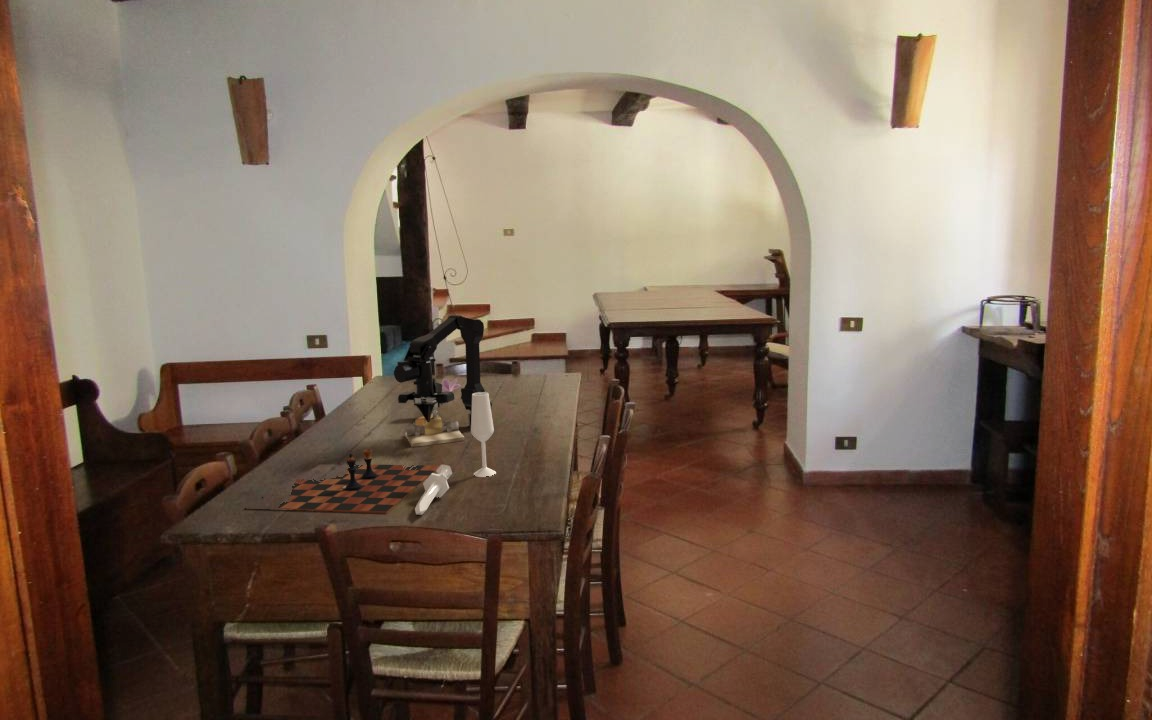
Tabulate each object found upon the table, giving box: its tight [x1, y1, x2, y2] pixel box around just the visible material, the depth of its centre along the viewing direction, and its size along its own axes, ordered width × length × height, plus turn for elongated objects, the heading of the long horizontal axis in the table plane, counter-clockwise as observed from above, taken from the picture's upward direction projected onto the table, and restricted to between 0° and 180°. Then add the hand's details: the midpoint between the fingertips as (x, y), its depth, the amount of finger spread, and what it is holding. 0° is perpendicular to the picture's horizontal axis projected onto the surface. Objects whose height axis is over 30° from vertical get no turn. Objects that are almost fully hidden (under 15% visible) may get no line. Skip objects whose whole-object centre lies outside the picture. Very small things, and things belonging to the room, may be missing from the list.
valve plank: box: [404, 415, 466, 448], centre depth 266 cm, size 18×16×7 cm
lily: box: [441, 378, 462, 392], centre depth 328 cm, size 12×12×10 cm
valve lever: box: [415, 410, 437, 425], centre depth 263 cm, size 3×14×2 cm, turn 171°
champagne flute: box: [470, 391, 497, 478], centre depth 223 cm, size 7×7×24 cm
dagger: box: [414, 464, 453, 516], centre depth 203 cm, size 8×6×28 cm
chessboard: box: [251, 448, 440, 515], centre depth 218 cm, size 40×40×11 cm
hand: (428, 422), depth 259 cm, fingers closed
